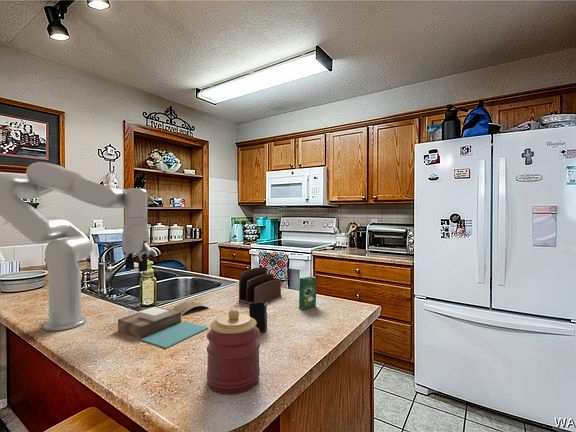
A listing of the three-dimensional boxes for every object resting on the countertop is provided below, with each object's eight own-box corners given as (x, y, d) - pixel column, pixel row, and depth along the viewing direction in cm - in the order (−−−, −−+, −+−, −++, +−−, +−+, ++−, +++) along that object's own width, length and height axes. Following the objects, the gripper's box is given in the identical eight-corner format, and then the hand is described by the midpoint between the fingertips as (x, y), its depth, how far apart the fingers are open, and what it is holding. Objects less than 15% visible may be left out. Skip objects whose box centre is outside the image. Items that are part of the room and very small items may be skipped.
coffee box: (312, 304, 136) (312, 275, 136) (316, 306, 134) (316, 276, 134) (298, 308, 131) (298, 278, 131) (303, 310, 129) (303, 279, 129)
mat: (140, 340, 98) (140, 339, 98) (184, 322, 114) (184, 321, 114) (165, 348, 93) (165, 347, 93) (208, 328, 108) (208, 327, 108)
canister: (195, 388, 72) (195, 314, 72) (225, 362, 85) (225, 299, 84) (243, 400, 68) (244, 322, 67) (268, 371, 80) (268, 304, 80)
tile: (139, 317, 108) (139, 311, 108) (154, 312, 113) (154, 306, 113) (154, 321, 104) (154, 315, 104) (169, 316, 109) (169, 310, 109)
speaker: (266, 334, 103) (265, 302, 104) (249, 334, 103) (248, 303, 104) (268, 327, 111) (267, 298, 112) (252, 328, 111) (251, 299, 112)
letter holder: (238, 301, 140) (238, 271, 140) (265, 292, 157) (265, 264, 156) (254, 305, 135) (255, 274, 134) (281, 295, 151) (281, 267, 151)
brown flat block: (118, 330, 106) (117, 319, 106) (157, 316, 120) (157, 306, 120) (142, 338, 100) (142, 326, 99) (181, 322, 114) (181, 312, 113)
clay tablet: (181, 317, 121) (181, 310, 121) (168, 311, 127) (168, 305, 127) (211, 309, 132) (211, 302, 131) (198, 304, 138) (198, 298, 138)
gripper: (112, 221, 114) (112, 269, 114) (142, 223, 105) (142, 274, 106) (130, 221, 120) (131, 266, 121) (160, 222, 112) (160, 271, 112)
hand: (136, 269), depth 113 cm, fingers open, 6 cm apart
